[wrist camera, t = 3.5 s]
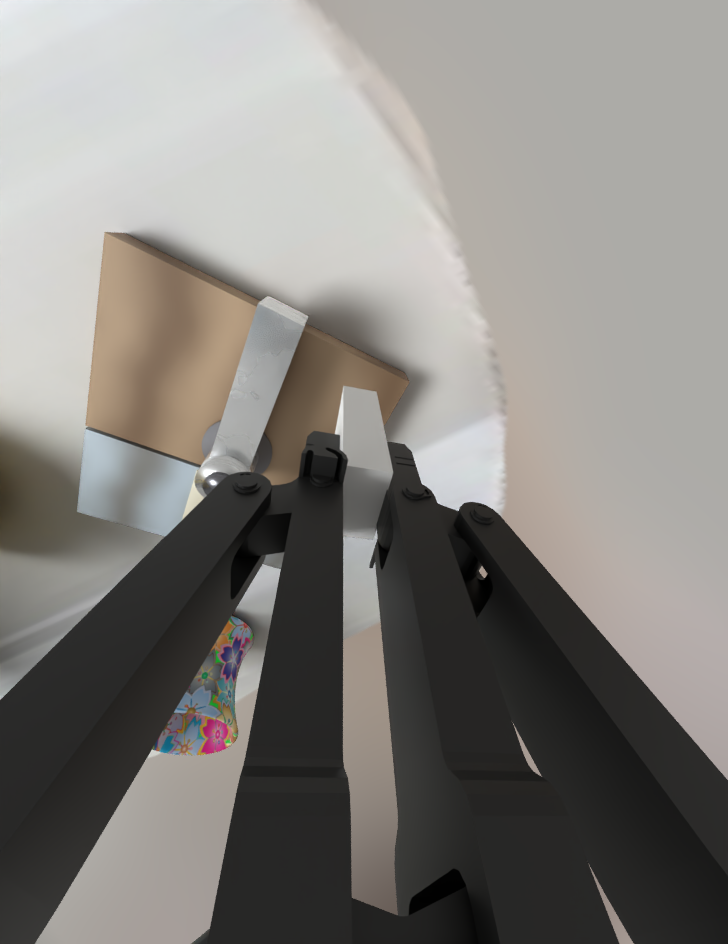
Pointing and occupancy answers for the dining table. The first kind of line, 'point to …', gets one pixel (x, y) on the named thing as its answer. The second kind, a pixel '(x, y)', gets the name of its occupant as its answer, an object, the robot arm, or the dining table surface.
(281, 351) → the latch bar
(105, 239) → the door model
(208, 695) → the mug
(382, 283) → the dining table surface
